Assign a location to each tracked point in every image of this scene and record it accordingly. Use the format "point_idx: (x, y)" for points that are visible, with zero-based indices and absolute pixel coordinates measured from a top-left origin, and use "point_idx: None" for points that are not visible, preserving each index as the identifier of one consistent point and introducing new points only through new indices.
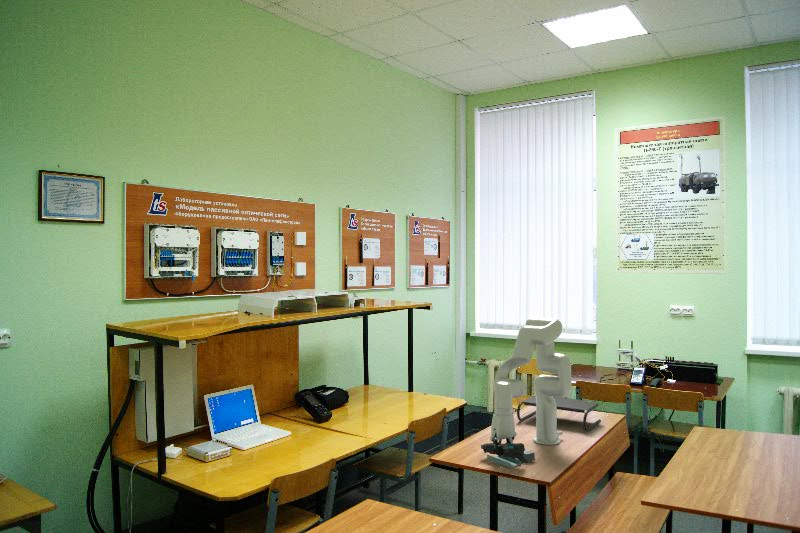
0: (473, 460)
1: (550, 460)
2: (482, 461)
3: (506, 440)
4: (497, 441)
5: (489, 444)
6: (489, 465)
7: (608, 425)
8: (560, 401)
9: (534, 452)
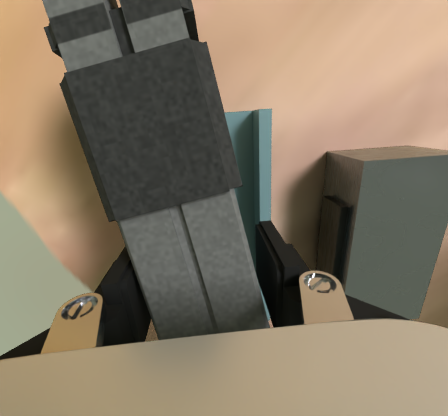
0: (6, 70)
1: (438, 311)
2: (73, 134)
3: (300, 301)
4: (101, 345)
5: (102, 132)
6: (81, 227)
7: None
8: None
9: (415, 318)
